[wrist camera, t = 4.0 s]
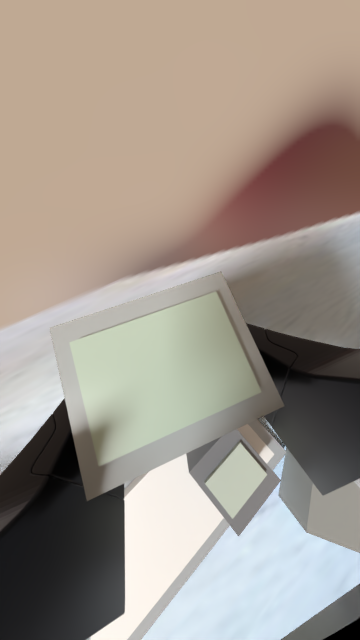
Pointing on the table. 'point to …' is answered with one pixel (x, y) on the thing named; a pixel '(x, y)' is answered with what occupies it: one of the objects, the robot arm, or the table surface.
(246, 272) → the table surface
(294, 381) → the robot arm
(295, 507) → the block
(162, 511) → the rail
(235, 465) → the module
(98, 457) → the panel
